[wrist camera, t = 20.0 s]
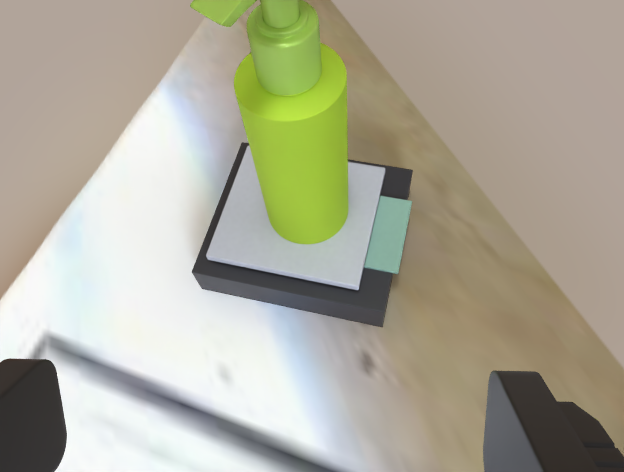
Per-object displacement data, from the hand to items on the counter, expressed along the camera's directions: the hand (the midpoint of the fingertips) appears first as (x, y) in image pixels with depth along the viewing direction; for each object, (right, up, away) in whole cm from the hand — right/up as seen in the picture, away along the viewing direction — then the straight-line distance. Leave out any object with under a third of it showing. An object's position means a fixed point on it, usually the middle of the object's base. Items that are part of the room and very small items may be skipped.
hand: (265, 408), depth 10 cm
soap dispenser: (0, +5, +30) cm, 30 cm away
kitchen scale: (+1, +3, +33) cm, 33 cm away
